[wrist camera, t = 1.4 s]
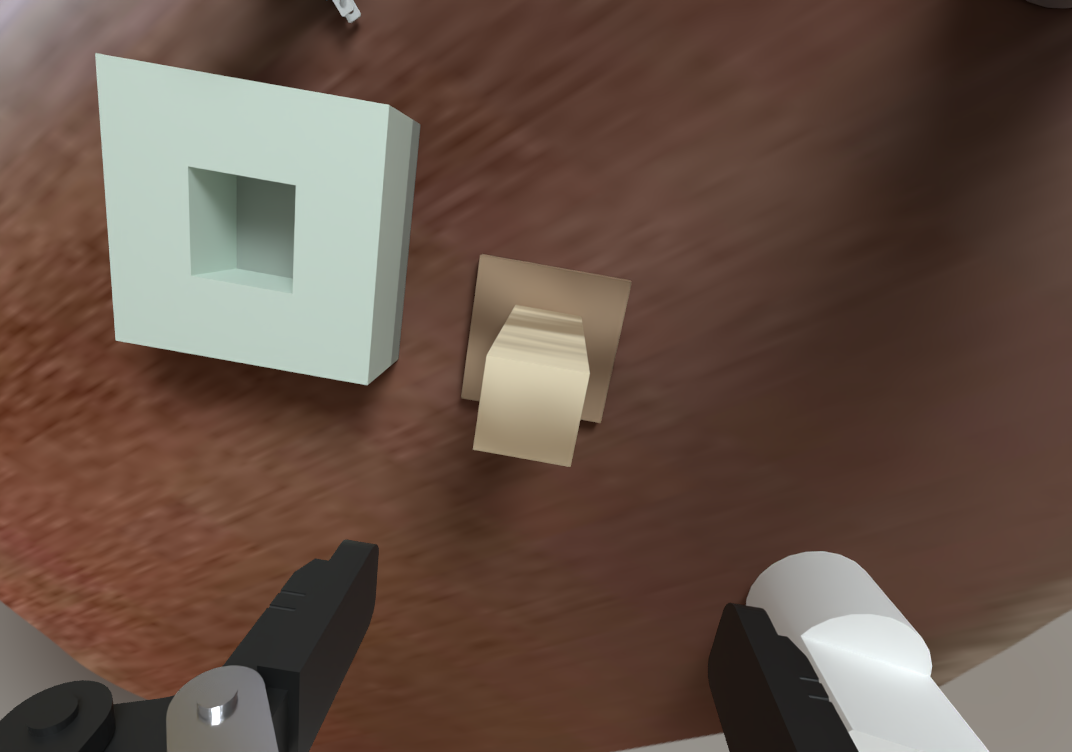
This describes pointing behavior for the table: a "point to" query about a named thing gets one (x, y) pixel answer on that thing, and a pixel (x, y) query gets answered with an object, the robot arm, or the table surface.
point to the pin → (534, 387)
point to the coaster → (550, 291)
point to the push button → (347, 9)
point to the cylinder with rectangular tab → (862, 654)
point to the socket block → (255, 219)
